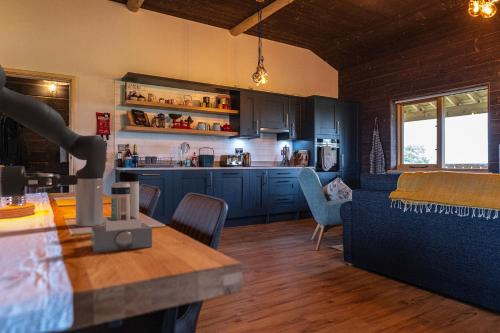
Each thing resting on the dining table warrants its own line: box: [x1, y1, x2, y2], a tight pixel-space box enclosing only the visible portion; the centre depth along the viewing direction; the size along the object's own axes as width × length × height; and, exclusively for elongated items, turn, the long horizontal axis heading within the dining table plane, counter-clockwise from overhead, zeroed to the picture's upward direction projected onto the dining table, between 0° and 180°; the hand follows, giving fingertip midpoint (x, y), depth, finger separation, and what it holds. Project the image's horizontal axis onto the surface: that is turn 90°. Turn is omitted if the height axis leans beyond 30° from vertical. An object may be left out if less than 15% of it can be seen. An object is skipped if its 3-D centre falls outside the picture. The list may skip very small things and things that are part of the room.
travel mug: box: [118, 171, 140, 218], centre depth 110 cm, size 6×7×20 cm
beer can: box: [110, 182, 130, 221], centre depth 90 cm, size 5×5×12 cm
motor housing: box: [90, 215, 153, 254], centre depth 90 cm, size 11×14×8 cm
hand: (76, 179), depth 88 cm, fingers open, 8 cm apart
